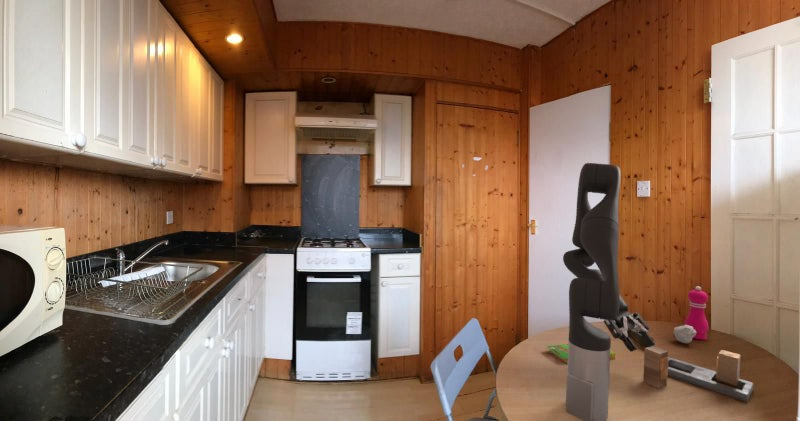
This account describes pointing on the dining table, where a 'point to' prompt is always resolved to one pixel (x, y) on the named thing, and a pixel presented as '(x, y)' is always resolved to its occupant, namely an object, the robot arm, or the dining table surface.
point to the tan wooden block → (655, 367)
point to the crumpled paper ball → (684, 333)
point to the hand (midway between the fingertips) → (643, 348)
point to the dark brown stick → (637, 338)
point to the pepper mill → (698, 313)
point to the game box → (566, 352)
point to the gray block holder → (715, 375)
